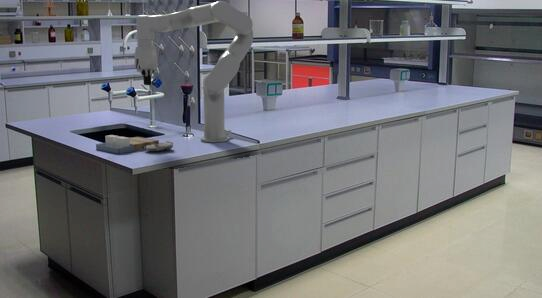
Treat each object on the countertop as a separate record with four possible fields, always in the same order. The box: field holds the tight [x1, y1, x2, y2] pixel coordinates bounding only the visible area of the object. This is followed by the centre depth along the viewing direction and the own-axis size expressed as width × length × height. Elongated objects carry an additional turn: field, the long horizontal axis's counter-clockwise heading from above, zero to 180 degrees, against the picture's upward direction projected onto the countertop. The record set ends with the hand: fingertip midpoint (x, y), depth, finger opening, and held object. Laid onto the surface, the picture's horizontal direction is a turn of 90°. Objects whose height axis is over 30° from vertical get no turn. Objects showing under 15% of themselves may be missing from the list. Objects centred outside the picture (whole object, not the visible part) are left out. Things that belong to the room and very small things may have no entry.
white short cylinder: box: [104, 134, 121, 148], centre depth 257 cm, size 6×6×4 cm
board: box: [129, 136, 160, 152], centre depth 263 cm, size 14×15×3 cm
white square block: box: [115, 136, 131, 148], centre depth 253 cm, size 6×6×4 cm
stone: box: [144, 140, 174, 152], centre depth 254 cm, size 12×9×3 cm
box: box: [95, 142, 135, 155], centre depth 254 cm, size 8×16×2 cm, turn 51°
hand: (147, 84), depth 266 cm, fingers closed
